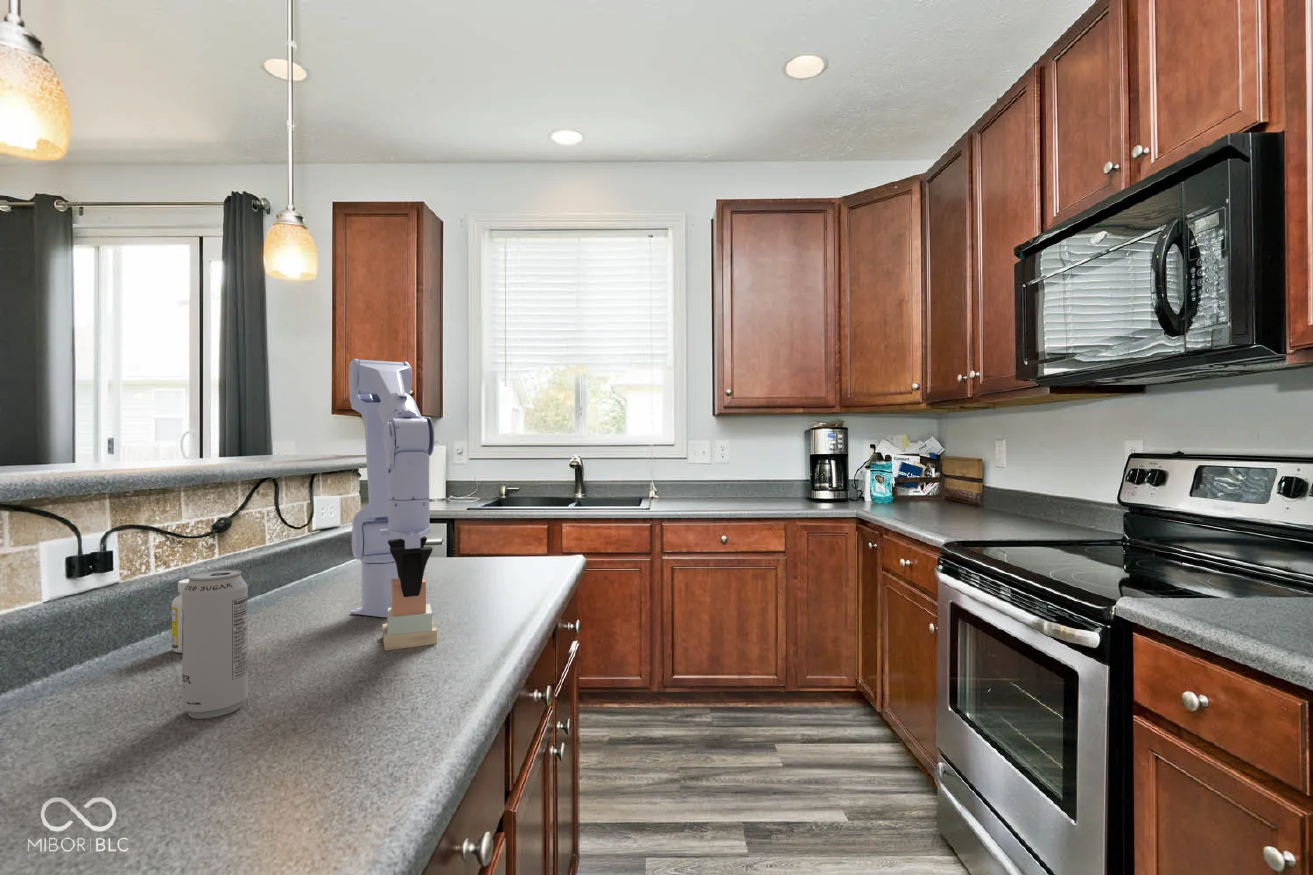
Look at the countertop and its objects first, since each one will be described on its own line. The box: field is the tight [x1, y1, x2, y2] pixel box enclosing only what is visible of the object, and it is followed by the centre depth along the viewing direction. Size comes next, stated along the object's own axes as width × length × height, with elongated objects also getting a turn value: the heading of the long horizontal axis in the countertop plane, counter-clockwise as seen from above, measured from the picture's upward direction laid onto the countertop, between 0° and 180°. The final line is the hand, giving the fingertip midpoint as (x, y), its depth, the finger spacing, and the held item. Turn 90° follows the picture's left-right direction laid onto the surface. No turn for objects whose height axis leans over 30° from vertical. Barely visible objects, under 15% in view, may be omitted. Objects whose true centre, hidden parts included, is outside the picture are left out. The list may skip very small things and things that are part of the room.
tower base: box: [382, 620, 438, 651], centre depth 96 cm, size 7×7×2 cm
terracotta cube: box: [391, 576, 427, 616], centre depth 96 cm, size 4×4×4 cm
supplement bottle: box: [171, 578, 189, 654], centre depth 93 cm, size 5×5×10 cm
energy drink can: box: [181, 569, 249, 720], centre depth 72 cm, size 6×6×15 cm
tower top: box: [386, 603, 433, 635], centre depth 96 cm, size 6×6×2 cm
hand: (409, 590), depth 96 cm, fingers open, 7 cm apart
